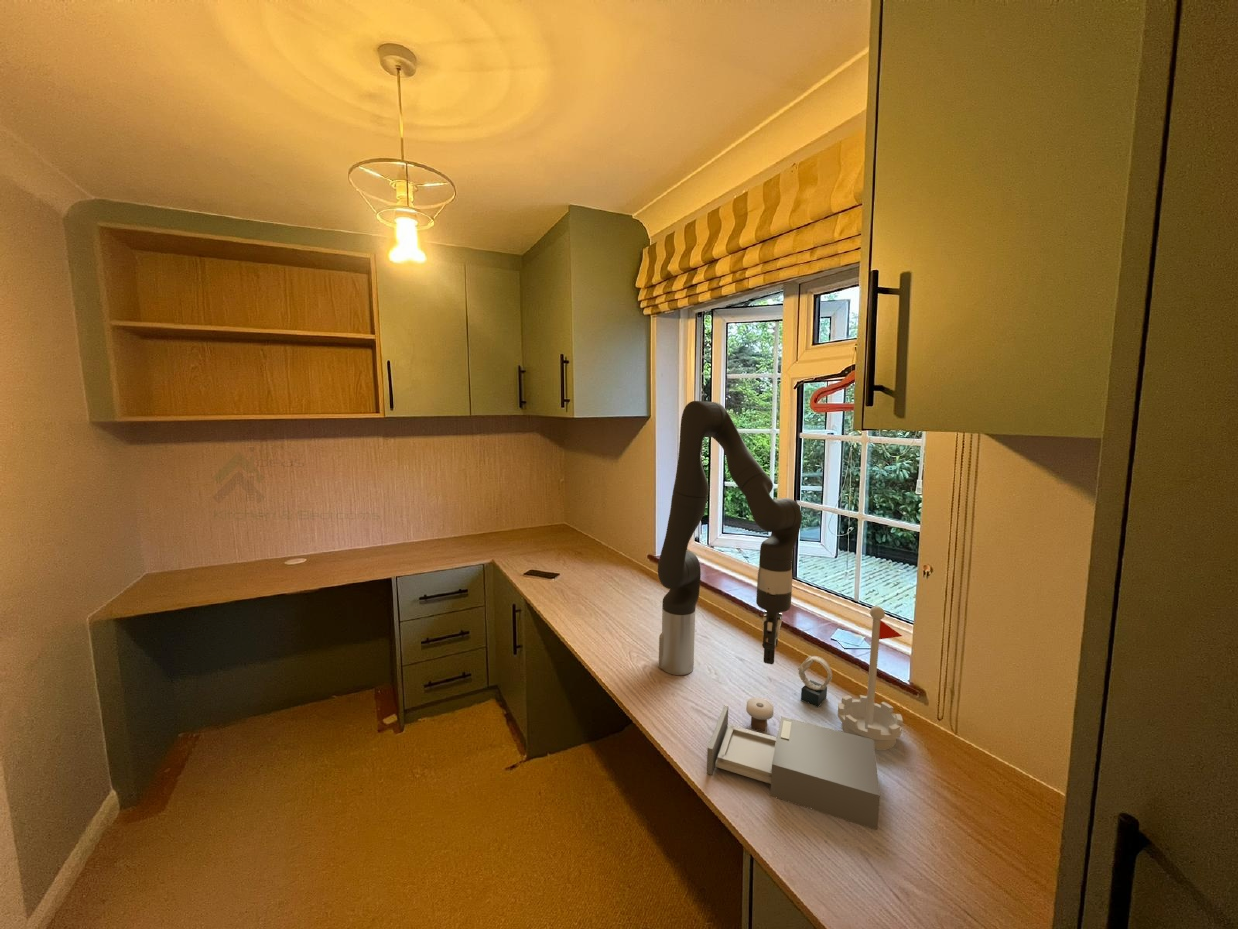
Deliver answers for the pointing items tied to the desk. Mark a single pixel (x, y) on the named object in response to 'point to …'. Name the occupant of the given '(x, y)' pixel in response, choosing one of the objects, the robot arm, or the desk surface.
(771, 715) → the beige knobbed lid
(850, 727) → the flag stand
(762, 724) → the brown block
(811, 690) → the watch
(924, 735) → the desk surface
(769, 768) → the tray
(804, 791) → the housing
